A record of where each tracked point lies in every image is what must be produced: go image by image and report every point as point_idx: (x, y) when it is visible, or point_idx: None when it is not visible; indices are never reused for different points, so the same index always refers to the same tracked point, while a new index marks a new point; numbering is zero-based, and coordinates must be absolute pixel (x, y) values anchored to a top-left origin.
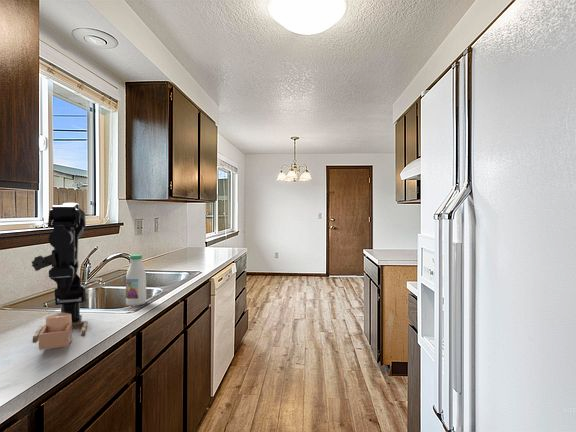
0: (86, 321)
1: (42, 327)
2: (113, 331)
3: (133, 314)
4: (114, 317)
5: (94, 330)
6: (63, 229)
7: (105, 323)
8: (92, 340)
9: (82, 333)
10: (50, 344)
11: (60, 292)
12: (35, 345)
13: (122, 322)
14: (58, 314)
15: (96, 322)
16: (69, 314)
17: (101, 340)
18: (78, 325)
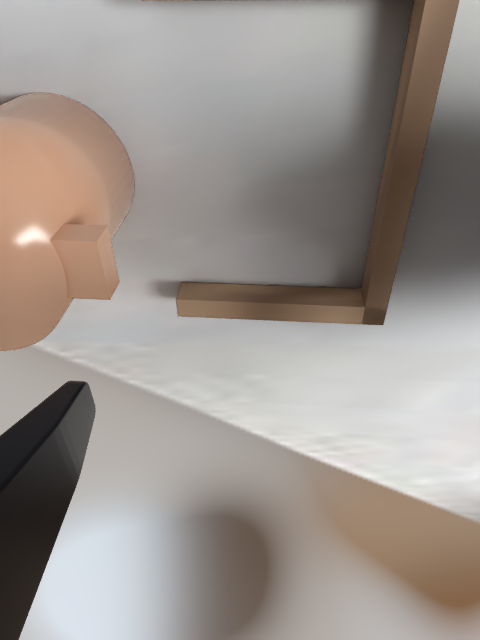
0: (383, 320)
1: (422, 2)
2: (199, 403)
3: (460, 483)
4: (469, 421)
5: (256, 337)
6: None
7: (369, 383)
8: (80, 328)
9: (181, 293)
10: None
11: (3, 445)
12: (44, 8)
13: (338, 440)
14: (18, 263)
15: (425, 347)
16: (9, 339)
17: (71, 359)
18: (367, 269)
